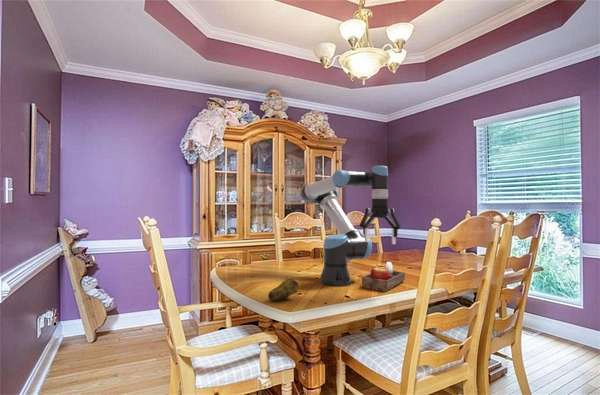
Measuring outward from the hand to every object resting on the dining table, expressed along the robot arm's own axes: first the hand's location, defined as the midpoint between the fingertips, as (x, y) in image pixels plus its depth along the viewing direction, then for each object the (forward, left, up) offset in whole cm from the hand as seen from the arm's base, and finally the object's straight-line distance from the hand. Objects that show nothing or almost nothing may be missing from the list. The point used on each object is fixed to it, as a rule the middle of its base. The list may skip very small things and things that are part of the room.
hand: (379, 242), depth 155 cm
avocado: (-23, -44, -21) cm, 54 cm away
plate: (0, +11, -20) cm, 23 cm away
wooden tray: (0, +6, -21) cm, 22 cm away
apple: (0, 0, -20) cm, 20 cm away
